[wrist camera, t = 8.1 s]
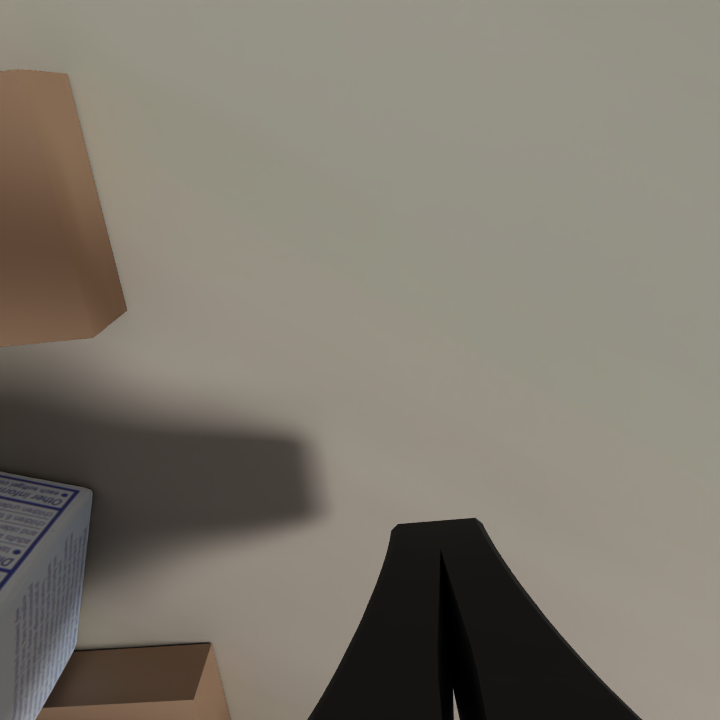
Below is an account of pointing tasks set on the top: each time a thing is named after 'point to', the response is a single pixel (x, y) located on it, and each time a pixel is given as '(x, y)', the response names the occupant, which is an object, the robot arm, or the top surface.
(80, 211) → the notched board
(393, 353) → the top surface
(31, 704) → the medicine box
